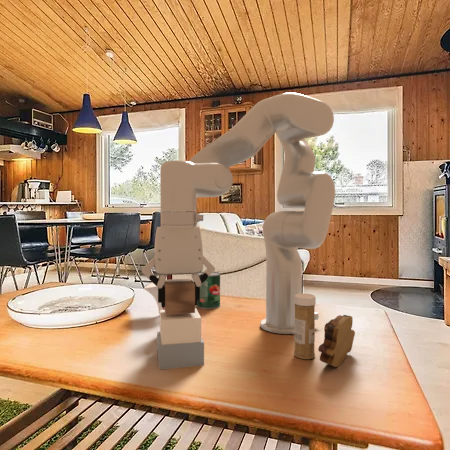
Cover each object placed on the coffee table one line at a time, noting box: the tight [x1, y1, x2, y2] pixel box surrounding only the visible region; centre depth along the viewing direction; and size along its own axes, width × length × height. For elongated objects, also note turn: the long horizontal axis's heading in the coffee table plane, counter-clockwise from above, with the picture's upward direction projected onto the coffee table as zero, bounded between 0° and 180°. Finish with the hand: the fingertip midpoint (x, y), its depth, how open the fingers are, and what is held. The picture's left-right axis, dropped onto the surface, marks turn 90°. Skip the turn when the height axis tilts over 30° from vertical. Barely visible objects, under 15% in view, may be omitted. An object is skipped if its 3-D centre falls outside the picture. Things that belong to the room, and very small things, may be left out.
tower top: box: [159, 307, 202, 345], centre depth 80 cm, size 8×8×5 cm
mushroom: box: [142, 275, 163, 315], centre depth 114 cm, size 10×11×12 cm
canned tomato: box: [196, 271, 221, 310], centre depth 125 cm, size 8×8×11 cm
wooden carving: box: [318, 314, 356, 368], centre depth 78 cm, size 16×5×10 cm, turn 150°
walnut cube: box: [164, 278, 196, 314], centre depth 80 cm, size 6×6×6 cm
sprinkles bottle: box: [293, 292, 317, 360], centre depth 82 cm, size 5×5×13 cm
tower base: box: [156, 331, 205, 370], centre depth 80 cm, size 9×9×5 cm
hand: (178, 304), depth 80 cm, fingers closed on walnut cube, 6 cm apart
